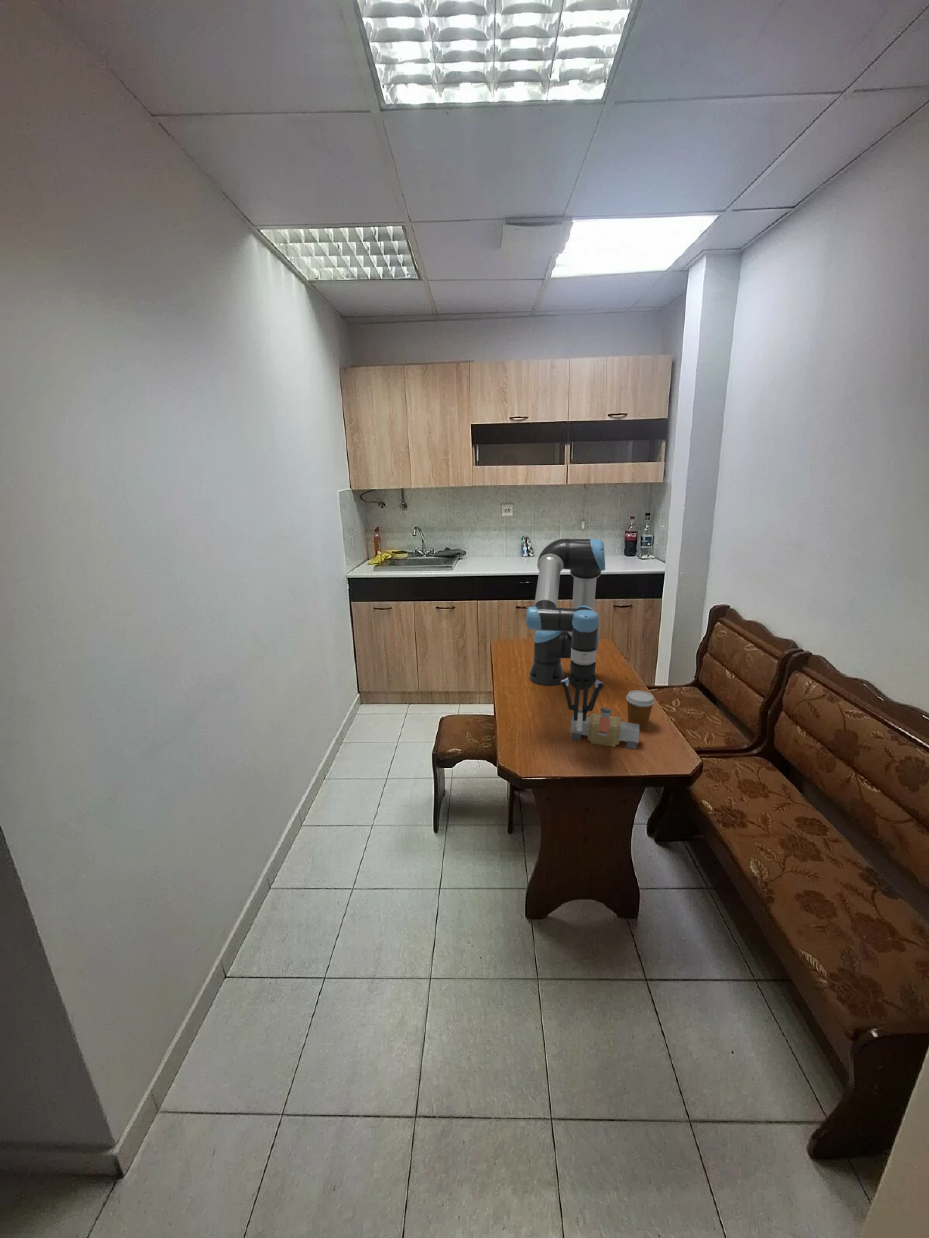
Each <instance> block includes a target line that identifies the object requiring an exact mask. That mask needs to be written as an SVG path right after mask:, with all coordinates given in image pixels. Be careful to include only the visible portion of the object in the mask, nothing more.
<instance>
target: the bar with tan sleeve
mask: <svg viewBox="0 0 929 1238" xmlns="http://www.w3.org/2000/svg"><path fill="white" fill-rule="evenodd" d="M600 717H601V714H597V713H594V712H590V716H586V721H582V731H577V727H576V726H577V721H574V714H572V717H571V722H570V734H571V740H572V741H573V740H574V741H582V735H583V736H587V741H589V742H590V744H594V745H599V746H600V745H601V746H607V747H612V748H616V745H617V746H618V745H619V744H620V741H621V742H626V747H625V748H626V749H629V750H637V744H639V738H640V737H639V736H640V730H639V724H635V723H628V721H627V722H625V721H622V717H621V716H613V715H610V716H609V718H610V725H609V734H608V737H607V736H600V735H598V727H599V720H600ZM619 746H620V745H619Z"/></svg>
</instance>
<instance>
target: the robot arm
mask: <svg viewBox="0 0 929 1238" xmlns="http://www.w3.org/2000/svg"><path fill="white" fill-rule="evenodd" d="M536 566H537V569H538V577H537V578H538V579H537V584H536V590H535V591H536V592H535V598H534V605H533V606H529V607H527V609H526V615H525V616H526V621H525V623H526V624H525V625H526V628H527V629H528V630H533V631H535V632H534V639H533V642H534V645H533V649H534V650H533V663H532V666H531V668H530V669H529V670H530V671H529V675H528V676H529V680H530V681H531V682H532V683H534V684H537V685H540V686H557V685H561V686H562V689H564V693H565V699H566V703H567V706H568V710H570V711H572V712H573V715H574V721H577V726H576V727H577V731H582V721H586V717H587V713H588V712H592V711H593V710H594V708H595V704H596V702H597V699H598V696H599V693H600V691H601V690H602V689H603V687H604V683H603V681H602V680H599V679H597V676H596V666H597V665H596V664H597V663H596V661H597V653H598V650H599V641H600V634H599V627H600V623H599V621H600V620H599V618H600V617H599V614H598V613H597V612H596V611H595V604H596V603H595V600H596V589H597V588H596V587H597V578H599V577H600V576H601V575H602V572H604V571H605V570H606V556H605V543H604V541H603V540H602V539H597V538H596V539H595V538H560V539H555V540H554V541H552V542H550V543H549V544H548V545H546V546H545V547H544V548H543V549H542V550H541V552H540V553H539V555H538V558H537V563H536ZM562 570H569V572H570V575H571V576H572V577H573V589H572V590H573V591H572V604H571V605H572V607H571V608H569V607H558V600H559V588H560V579H561V578H560V577H561V572H562ZM562 659H569V660H570V663H569V664H570V666H569V668H570V669H569V674H568V675H567V677H566V678H565V673H564V670H563V669H564V668H563V665H562ZM570 684H571V685H572V687H573V688H574V697H573V699H574V701H573V702H572V699H571V698H572V697H571V694H570V693H571V692H570V688H569V686H570ZM593 685H594V688H593V691H592V694H591V697H590V699H589V702H588V698H589V697H588V695H589V690H590V688H591V687H592V686H593ZM581 690H582V705H581V707H582V708H579V705H580V691H581ZM572 703H573V704H572Z"/></svg>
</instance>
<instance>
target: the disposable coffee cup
mask: <svg viewBox="0 0 929 1238" xmlns="http://www.w3.org/2000/svg"><path fill="white" fill-rule="evenodd" d="M625 698H626V702H627V720H628V721H627V722H628V723H635V724H639V731H645V730H647V728H648V724H649V721H650V718H651V717H650V716H651V712H652V708H653V705H654V704H655V702H656V701H655V698H654V695H653V694H652V693H650V692H648V691H644V690H639V689H638V690H631V691H629V692H628V693H627V695H626V697H625Z"/></svg>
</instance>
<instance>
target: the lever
mask: <svg viewBox="0 0 929 1238" xmlns="http://www.w3.org/2000/svg"><path fill="white" fill-rule="evenodd" d="M599 712H600V715H601V717H600V720H599V727H598V735H600V736H607V737H608V734H609V725H610V718H609V716H612V709H610V708H608V707H602V708H600V710H599Z"/></svg>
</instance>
